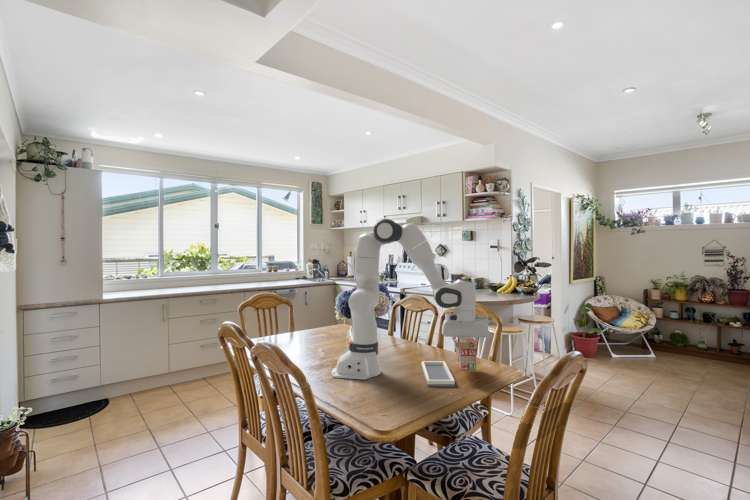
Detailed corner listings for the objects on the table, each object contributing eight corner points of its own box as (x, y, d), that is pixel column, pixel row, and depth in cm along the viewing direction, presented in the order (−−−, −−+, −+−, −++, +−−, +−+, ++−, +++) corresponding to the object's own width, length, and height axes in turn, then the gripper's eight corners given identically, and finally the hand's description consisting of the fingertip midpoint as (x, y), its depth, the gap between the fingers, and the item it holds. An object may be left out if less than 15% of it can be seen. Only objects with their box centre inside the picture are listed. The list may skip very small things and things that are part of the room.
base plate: (427, 386, 151) (427, 380, 151) (421, 366, 177) (421, 361, 177) (454, 386, 151) (454, 380, 151) (444, 366, 177) (444, 361, 177)
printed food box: (455, 355, 175) (455, 330, 175) (469, 356, 174) (468, 329, 174) (461, 370, 153) (460, 341, 153) (476, 370, 153) (475, 341, 153)
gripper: (487, 314, 166) (486, 345, 166) (441, 313, 167) (441, 344, 167) (491, 317, 160) (490, 349, 160) (443, 316, 160) (443, 348, 161)
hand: (464, 346), depth 163 cm, fingers closed on printed food box, 6 cm apart
